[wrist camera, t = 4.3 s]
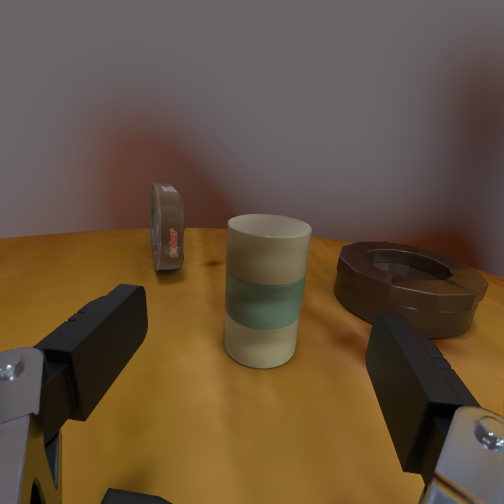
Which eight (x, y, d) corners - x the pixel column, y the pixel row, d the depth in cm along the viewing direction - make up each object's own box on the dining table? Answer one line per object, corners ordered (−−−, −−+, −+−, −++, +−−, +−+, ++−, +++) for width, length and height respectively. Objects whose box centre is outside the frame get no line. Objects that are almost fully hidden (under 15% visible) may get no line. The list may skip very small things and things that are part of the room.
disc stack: (210, 354, 20) (212, 227, 17) (240, 316, 24) (246, 210, 21) (284, 379, 18) (302, 242, 15) (302, 332, 23) (318, 221, 20)
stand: (326, 315, 25) (333, 273, 24) (339, 266, 36) (345, 235, 34) (491, 356, 21) (511, 309, 20) (452, 288, 32) (463, 254, 31)
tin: (150, 237, 42) (146, 177, 39) (173, 236, 43) (171, 177, 40) (156, 285, 28) (151, 199, 25) (189, 282, 29) (188, 199, 27)
